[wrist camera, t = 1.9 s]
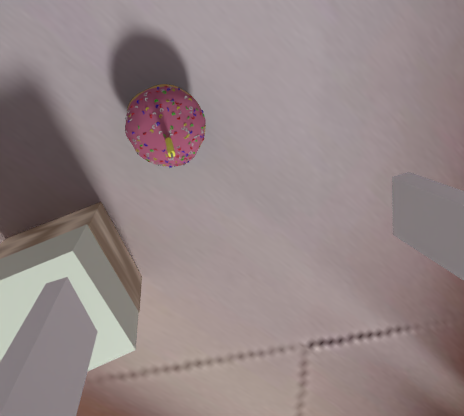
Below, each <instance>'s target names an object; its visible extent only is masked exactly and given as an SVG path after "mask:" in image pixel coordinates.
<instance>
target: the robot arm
mask: <svg viewBox="0 0 464 416" xmlns="http://www.w3.org/2000/svg"><path fill="white" fill-rule="evenodd" d="M392 211H393V235H394V236H396V237H397V238H399V239H400V240H402V241H403V242H405V243H407V244H408V245H410V246H411V247H413V248H414V249H416V250H417V251H419V252H420V253H422V254H423V255H425V256H427V257H428V258H430V259H431V260H433V261H434V262H436V263H437V264H439V265H440V266H442V267H444V268H445V269H447V270H448V271H450V272H451V273H453V274H454V275H456V276H457V277H459V278H461V279H462V280H464V191H462V190H459V189H456V188H453V187H451V186H448V185H445V184H442V183H439V182H436V181H433V180H431V179H428V178H425V177H422V176H419V175H416V174H414V173H411V172H407V173H403V174H400V175H397V176H394V177H392ZM97 333H98V331H97V330H96V328H95V326H94V324H93V322H92V321H91V319H90V317H89V315H88V313H87V311H86V310H85V308H84V306H83V304H82V302H81V301H80V299H79V297H78V295H77V293H76V291H75V290H74V288H73V286H72V284H71V282H70V281H69V279H68V277H65V278H62V279H59V280H55V281H52V282H49V283H46V284H45V286H44V288H43V289H42V291H41V293H40V295H39V296H38V298H37V300H36V301H35V303H34V305H33V307H32V308H31V310H30V312H29V314H28V315H27V317H26V319H25V320H24V322H23V324H22V326H21V327H20V329H19V331H18V332H17V334H16V336H15V338H14V339H13V341H12V343H11V344H10V346H9V348H8V350H7V351H6V353H5V355H4V357H3V358H2V360H1V362H0V416H76V414H77V410H78V406H79V402H80V398H81V394H82V391H83V387H84V383H85V379H86V375H87V371H88V367H89V364H90V360H91V356H92V352H93V348H94V344H95V340H96V336H97Z"/></svg>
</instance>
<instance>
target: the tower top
mask: <svg viewBox="0 0 464 416" xmlns="http://www.w3.org/2000/svg"><path fill="white" fill-rule="evenodd" d="M65 277H68V279H69V281H70V282H71V284H72V286H73V288H74V290H75V291H76V293H77V295H78V297H79V299H80V301H81V302H82V304H83V306H84V308H85V310H86V311H87V313H88V315H89V317H90V319H91V321H92V322H93V324H94V326H95V328H96V330H97V331H98V333H97V336H96V340H95V344H94V348H93V352H92V356H91V360H90V364H89V367H88V371H90V370H92V369H94V368H96V367H98V366H101V365H103V364H105V363H107V362H110V361H112V360H114V359H116V358H119V357H121V356H123V355H125V354H127V353H130V352H132V351H134V350H136V339H137V325H138V312H139V311H138V310H137V308H136V306H135V305H134V303H133V301H132V300H131V298H130V296H129V294H128V293H127V291H126V289H125V288H124V286H123V284H122V283H121V281H120V279H119V278H118V276H117V274H116V272H115V271H114V269H113V267H112V266H111V264H110V262H109V261H108V259H107V257H106V255H105V254H104V252H103V250H102V249H101V247H100V245H99V244H98V242H97V240H96V239H95V237H94V235H93V233H92V232H91V230H90V228H89V227H88V225H87V224H86V225H84V226H81V227H79V228H76V229H74V230H71V231H69V232H66V233H64V234H61V235H59V236H56V237H54V238H51V239H49V240H46V241H44V242H41V243H39V244H36V245H34V246H31V247H29V248H26V249H24V250H21V251H19V252H17V253H14V254H12V255H9V256H7V257H4V258H2V259H0V362H1V360H2V358H3V357H4V355H5V353H6V351H7V350H8V348H9V346H10V344H11V343H12V341H13V339H14V338H15V336H16V334H17V332H18V331H19V329H20V327H21V326H22V324H23V322H24V320H25V319H26V317H27V315H28V314H29V312H30V310H31V308H32V307H33V305H34V303H35V301H36V300H37V298H38V296H39V295H40V293H41V291H42V289H43V288H44V286H45V284H46V283H49V282H52V281H55V280H59V279H62V278H65Z"/></svg>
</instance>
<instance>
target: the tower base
mask: <svg viewBox="0 0 464 416" xmlns="http://www.w3.org/2000/svg"><path fill="white" fill-rule="evenodd" d="M86 224H87V225H88V227H89V228H90V230H91V232H92V233H93V235H94V237H95V239H96V240H97V242H98V244H99V245H100V247H101V249H102V250H103V252H104V254H105V255H106V257H107V259H108V261H109V262H110V264H111V266H112V267H113V269H114V271H115V272H116V274H117V276H118V278H119V279H120V281H121V283H122V284H123V286H124V288H125V289H126V291H127V293H128V294H129V296H130V298H131V300H132V301H133V303H134V305H135V306H136V308H137V310H138V311H140V297H141V282H142V276H141V274H140V273H139V271H138V269H137V267H136V265H135V263H134V262H133V260H132V258H131V256H130V254H129V252H128V251H127V249H126V247H125V245H124V243H123V241H122V239H121V238H120V236H119V234H118V232H117V230H116V228H115V227H114V225H113V223H112V221H111V219H110V217H109V216H108V214H107V212H106V210H105V208H104V206H103V204H102V203H101V202H99V203H97V204H94V205H92V206H89V207H86V208H84V209H81V210H79V211H76V212H74V213H71V214H68V215H66V216H63V217H61V218H58V219H56V220H53V221H50V222H48V223H45V224H43V225H40V226H38V227H35V228H32V229H30V230H27V231H25V232H22V233H20V234H17V235H14V236H12V237H9V238H7V239H5V240H4V241H3V242H2V243H1V244H0V259H2V258H4V257H7V256H9V255H12V254H14V253H17V252H19V251H21V250H24V249H26V248H29V247H31V246H34V245H36V244H39V243H41V242H44V241H46V240H49V239H51V238H54V237H56V236H59V235H61V234H64V233H66V232H69V231H71V230H74V229H76V228H79V227H81V226H84V225H86ZM138 313H139V312H138Z"/></svg>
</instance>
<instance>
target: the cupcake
mask: <svg viewBox="0 0 464 416" xmlns="http://www.w3.org/2000/svg"><path fill="white" fill-rule="evenodd" d="M202 111H203V110H201V108H200V106H199V104H198V103H197V101H196V100H195V99H194V98H193V97H192V96H191V95H190V94H189V93H187V92H186V91H184V90H182V89H181V88H179V87H177V86H174V85H168V84H160V85H156V86H153V87H151V88H148V89H146V90H144V91H143V92H141V93H139V94H137V95H136V96H135V97H134V98H133V99H132V100H131V101H130V103H129V105H128V109H127V116H126V117H125V119H126V126H125V133H126V136H127V137H128V139H129V140H130V142H131V143H132V145H133V146H134V148H135V150H136V152H137V154H138V155H140V156H141V157H142V158H143V159H145V160H147V161H148V162H151V163H153V164H156V165H158V166H159V165H160V166H169V167H170V168H171V167H172V166H180V165H183V164H184V165H185V164H186V163H188V162H189V161H190V160H192V159H193V158H194V157H195V155H196V153H197V151H198V149H199V147H200V145H201V144H202V141H203V140H204V135H205V126H206V125H205V117H204V114H203V112H202Z"/></svg>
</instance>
